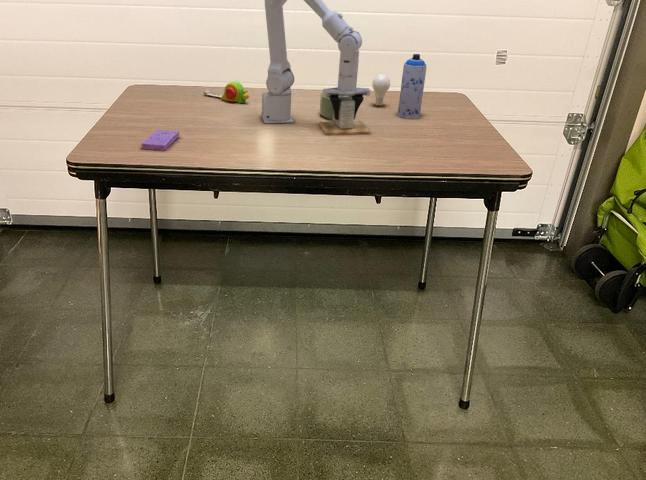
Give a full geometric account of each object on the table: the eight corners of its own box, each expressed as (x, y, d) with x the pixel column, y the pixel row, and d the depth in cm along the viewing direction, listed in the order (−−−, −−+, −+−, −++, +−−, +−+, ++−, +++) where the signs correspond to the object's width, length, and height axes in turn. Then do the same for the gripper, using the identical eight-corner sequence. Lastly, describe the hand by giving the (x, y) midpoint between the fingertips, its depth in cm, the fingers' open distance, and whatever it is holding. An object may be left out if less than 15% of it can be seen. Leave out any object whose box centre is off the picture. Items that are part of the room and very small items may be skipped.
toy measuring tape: (243, 105, 212) (242, 86, 209) (199, 96, 221) (199, 77, 218) (253, 101, 217) (253, 82, 214) (210, 92, 226) (210, 74, 223)
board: (325, 135, 188) (325, 132, 187) (318, 124, 197) (318, 121, 197) (369, 133, 190) (369, 131, 189) (360, 123, 199) (360, 120, 199)
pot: (323, 121, 200) (325, 100, 196) (316, 111, 209) (317, 90, 206) (357, 120, 201) (359, 99, 198) (349, 110, 211) (350, 90, 207)
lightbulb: (382, 109, 214) (385, 77, 208) (366, 106, 217) (369, 74, 211) (391, 105, 218) (394, 74, 212) (375, 102, 221) (378, 71, 215)
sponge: (179, 137, 182) (179, 131, 182) (165, 151, 172) (164, 144, 171) (157, 135, 183) (156, 129, 182) (141, 149, 173) (140, 142, 172)
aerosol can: (413, 111, 212) (421, 51, 202) (424, 117, 206) (433, 56, 196) (393, 112, 210) (400, 52, 200) (403, 119, 204) (411, 57, 194)
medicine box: (353, 128, 191) (355, 101, 187) (339, 129, 190) (342, 101, 186) (344, 121, 198) (347, 94, 193) (331, 121, 197) (333, 94, 192)
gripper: (327, 77, 180) (324, 123, 187) (374, 77, 182) (370, 122, 189) (322, 72, 186) (319, 116, 193) (368, 71, 188) (364, 115, 195)
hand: (344, 118), depth 192 cm, fingers closed on medicine box, 5 cm apart
